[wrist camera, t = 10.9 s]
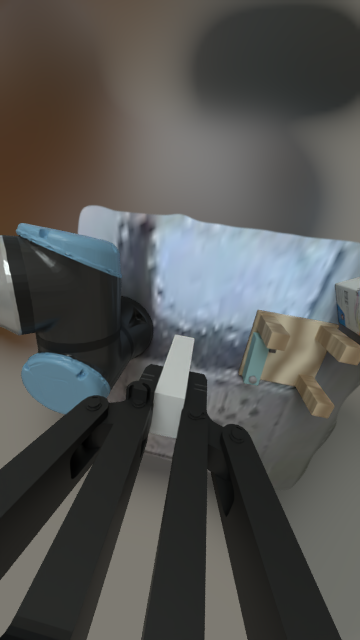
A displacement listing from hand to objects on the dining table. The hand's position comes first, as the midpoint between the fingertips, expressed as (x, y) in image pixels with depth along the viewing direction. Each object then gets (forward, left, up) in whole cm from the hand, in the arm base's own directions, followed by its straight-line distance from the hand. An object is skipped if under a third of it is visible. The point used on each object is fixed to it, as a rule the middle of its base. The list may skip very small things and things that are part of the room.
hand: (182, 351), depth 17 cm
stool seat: (+21, -12, -29) cm, 38 cm away
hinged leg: (+15, -14, -28) cm, 35 cm away
